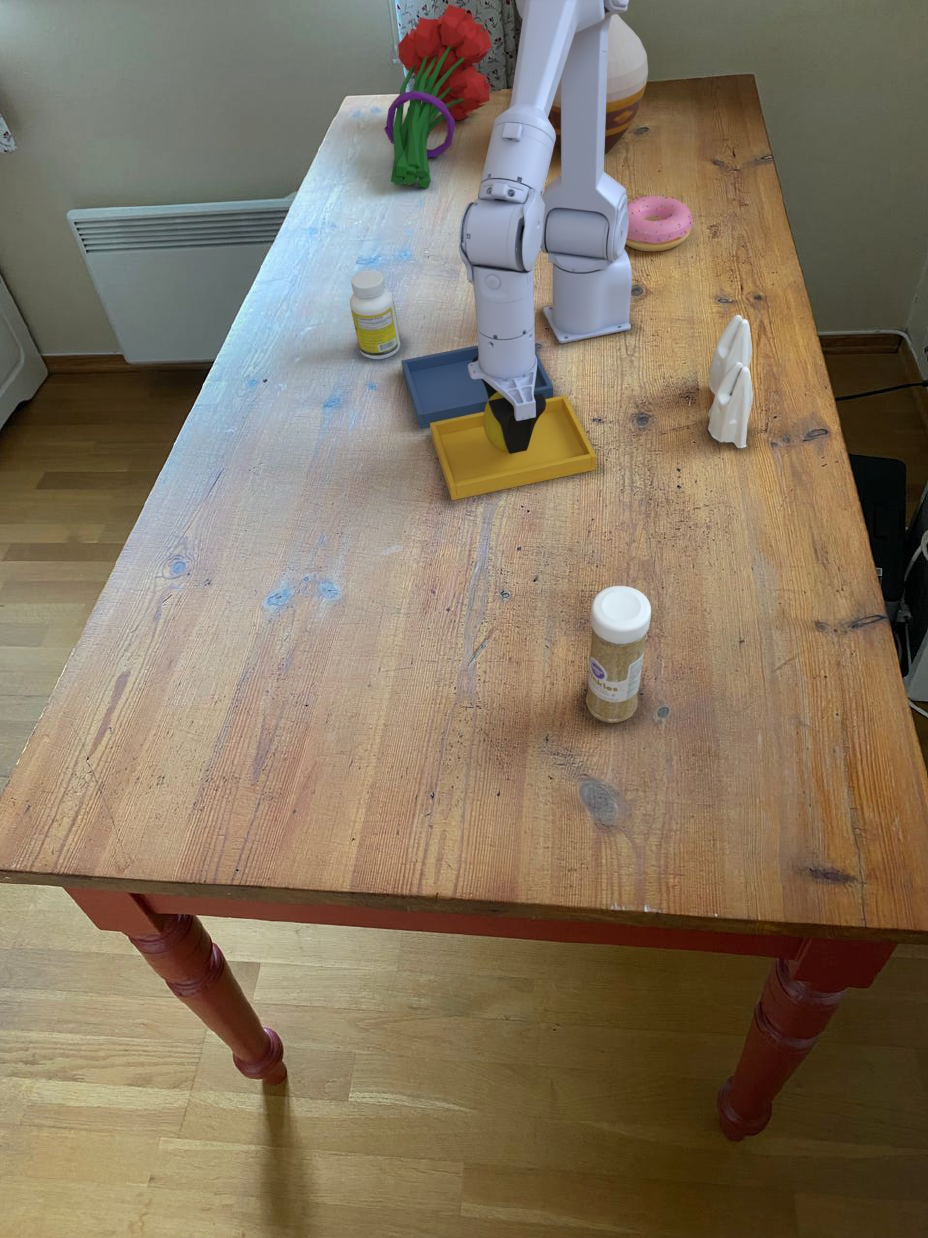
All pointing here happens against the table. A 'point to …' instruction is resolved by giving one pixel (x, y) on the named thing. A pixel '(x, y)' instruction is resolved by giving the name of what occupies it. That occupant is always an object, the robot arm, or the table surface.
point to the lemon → (493, 426)
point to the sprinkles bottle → (616, 652)
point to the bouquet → (436, 88)
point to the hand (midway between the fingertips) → (510, 432)
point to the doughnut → (657, 223)
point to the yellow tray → (490, 469)
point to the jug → (616, 83)
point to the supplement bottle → (374, 315)
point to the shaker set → (731, 384)
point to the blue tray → (453, 385)
